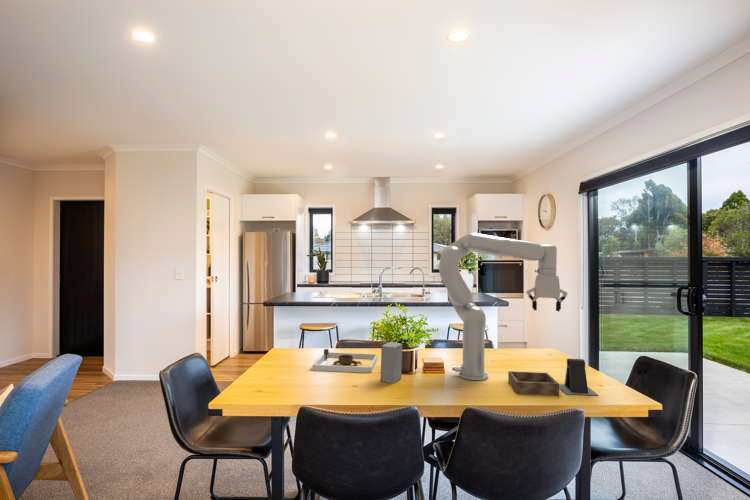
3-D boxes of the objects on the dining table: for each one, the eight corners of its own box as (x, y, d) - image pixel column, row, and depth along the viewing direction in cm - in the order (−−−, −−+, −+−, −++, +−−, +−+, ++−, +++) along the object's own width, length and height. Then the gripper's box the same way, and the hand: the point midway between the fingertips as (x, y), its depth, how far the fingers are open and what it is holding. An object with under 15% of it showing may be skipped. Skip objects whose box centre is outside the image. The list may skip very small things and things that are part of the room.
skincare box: (388, 376, 177) (389, 341, 177) (403, 379, 173) (403, 342, 174) (379, 381, 170) (379, 344, 170) (394, 384, 166) (394, 346, 166)
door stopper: (588, 393, 156) (588, 362, 156) (572, 392, 157) (572, 361, 157) (579, 386, 165) (579, 356, 165) (564, 385, 165) (564, 356, 166)
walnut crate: (516, 393, 156) (516, 381, 156) (508, 381, 171) (508, 371, 171) (559, 395, 154) (559, 383, 154) (547, 383, 169) (547, 372, 169)
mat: (565, 394, 155) (565, 393, 155) (555, 384, 167) (555, 383, 167) (598, 396, 154) (598, 394, 154) (585, 386, 166) (585, 385, 166)
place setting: (330, 371, 187) (330, 358, 187) (321, 360, 206) (321, 349, 206) (365, 368, 193) (365, 355, 193) (354, 358, 212) (354, 347, 212)
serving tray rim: (312, 370, 186) (312, 365, 186) (325, 356, 212) (325, 352, 212) (371, 372, 183) (371, 367, 183) (377, 358, 209) (377, 354, 209)
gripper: (528, 271, 176) (527, 310, 176) (570, 273, 173) (569, 312, 173) (525, 271, 184) (524, 308, 183) (565, 272, 181) (564, 310, 180)
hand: (546, 310), depth 178 cm, fingers open, 9 cm apart
